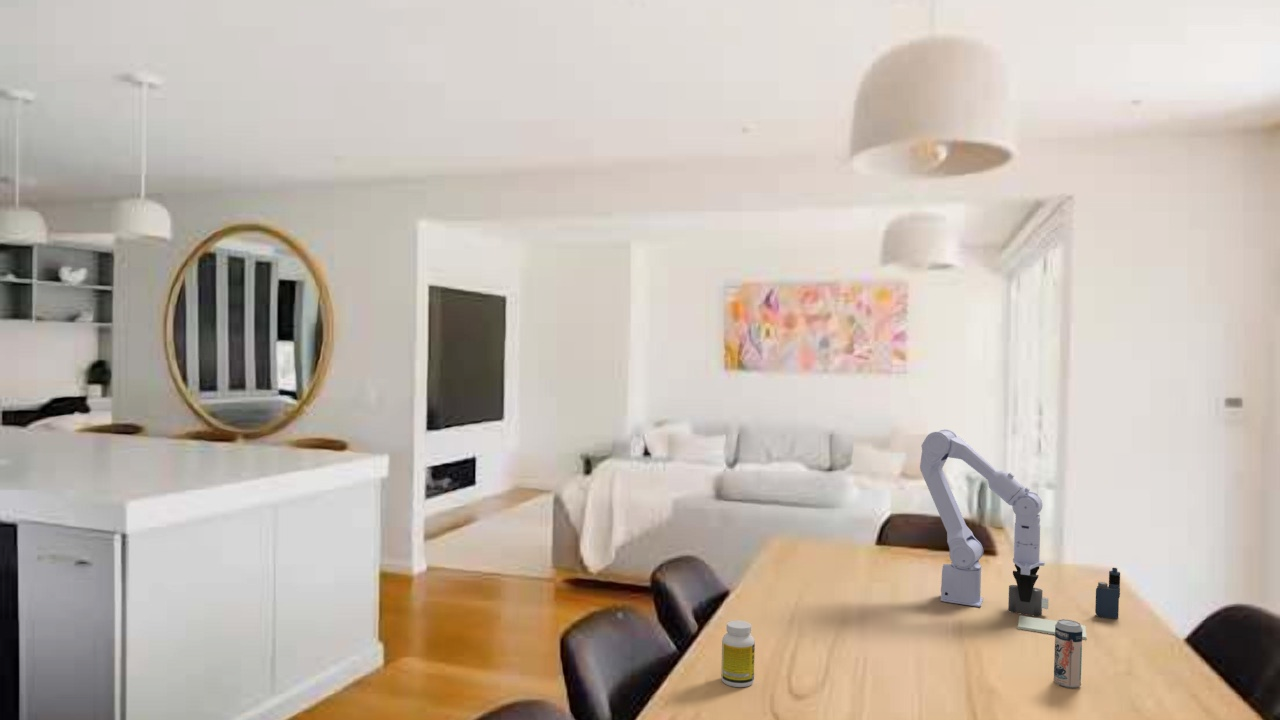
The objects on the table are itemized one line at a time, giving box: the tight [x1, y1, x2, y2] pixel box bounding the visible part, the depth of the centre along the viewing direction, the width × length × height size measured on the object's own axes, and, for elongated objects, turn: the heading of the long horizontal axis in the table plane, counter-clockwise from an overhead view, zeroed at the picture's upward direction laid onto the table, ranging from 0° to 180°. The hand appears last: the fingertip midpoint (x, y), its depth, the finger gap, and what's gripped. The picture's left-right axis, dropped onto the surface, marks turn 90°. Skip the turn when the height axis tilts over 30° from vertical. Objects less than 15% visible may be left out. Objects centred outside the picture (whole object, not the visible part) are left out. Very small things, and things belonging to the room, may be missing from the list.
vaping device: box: [1094, 567, 1121, 619], centre depth 202 cm, size 3×5×12 cm, turn 78°
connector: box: [1007, 584, 1049, 617], centre depth 203 cm, size 9×4×6 cm, turn 63°
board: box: [1017, 615, 1087, 641], centre depth 192 cm, size 14×9×1 cm, turn 63°
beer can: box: [1053, 618, 1083, 689], centre depth 159 cm, size 5×5×12 cm
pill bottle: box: [720, 619, 756, 688], centre depth 157 cm, size 6×6×11 cm
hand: (1025, 597), depth 203 cm, fingers open, 7 cm apart
